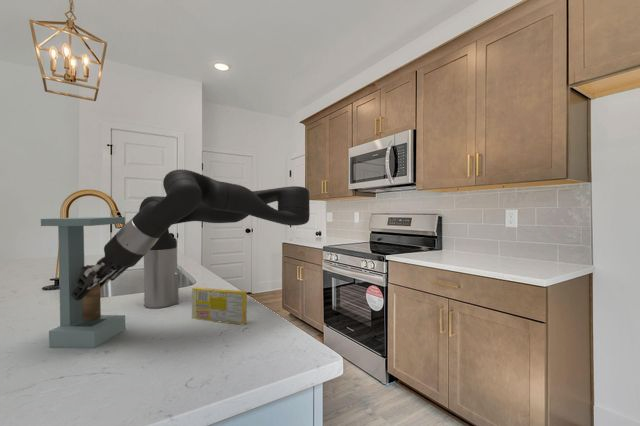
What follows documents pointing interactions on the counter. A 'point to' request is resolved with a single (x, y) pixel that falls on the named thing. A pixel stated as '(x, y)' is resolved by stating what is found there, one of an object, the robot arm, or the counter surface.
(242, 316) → the candy box
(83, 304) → the peg
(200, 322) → the counter surface
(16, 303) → the counter surface
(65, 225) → the socket stand
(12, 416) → the counter surface
